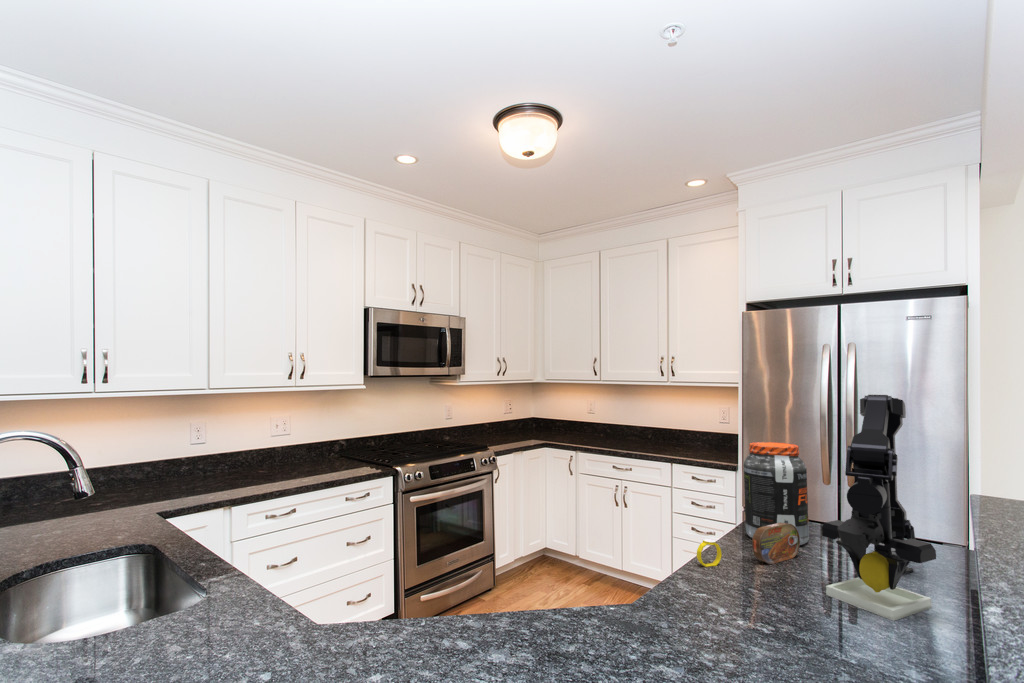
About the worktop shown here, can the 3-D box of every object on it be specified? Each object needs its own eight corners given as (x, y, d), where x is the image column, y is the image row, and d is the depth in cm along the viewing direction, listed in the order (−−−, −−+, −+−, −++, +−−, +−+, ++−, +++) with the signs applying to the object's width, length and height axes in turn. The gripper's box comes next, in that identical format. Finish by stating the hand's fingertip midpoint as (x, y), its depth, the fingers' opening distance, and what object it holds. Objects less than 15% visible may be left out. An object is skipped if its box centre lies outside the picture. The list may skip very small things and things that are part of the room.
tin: (761, 567, 122) (760, 530, 123) (750, 562, 125) (749, 527, 125) (801, 556, 129) (800, 522, 130) (789, 553, 132) (788, 519, 132)
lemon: (900, 599, 100) (897, 556, 101) (868, 597, 101) (866, 555, 102) (885, 587, 105) (883, 547, 106) (855, 585, 106) (853, 546, 107)
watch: (715, 563, 125) (716, 538, 125) (723, 567, 122) (724, 541, 123) (694, 564, 123) (695, 538, 124) (701, 568, 121) (702, 542, 121)
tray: (864, 584, 111) (863, 575, 112) (931, 607, 100) (931, 598, 100) (826, 594, 106) (825, 585, 106) (893, 620, 95) (893, 610, 95)
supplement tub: (809, 552, 132) (804, 449, 134) (742, 542, 140) (739, 445, 142) (809, 535, 146) (806, 442, 148) (749, 527, 154) (746, 439, 156)
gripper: (803, 498, 109) (806, 574, 108) (900, 520, 93) (905, 610, 91) (836, 493, 114) (839, 566, 113) (935, 513, 97) (940, 599, 96)
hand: (876, 583), depth 103 cm, fingers closed on lemon, 5 cm apart
